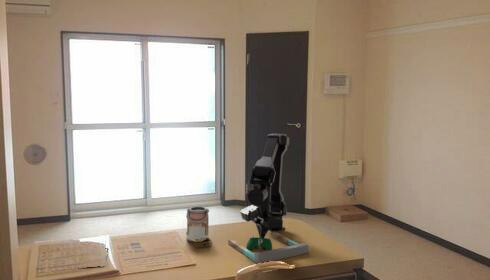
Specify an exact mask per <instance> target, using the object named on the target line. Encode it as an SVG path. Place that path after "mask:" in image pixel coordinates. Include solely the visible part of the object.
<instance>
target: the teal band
mask: <svg viewBox="0 0 490 280" xmlns="http://www.w3.org/2000/svg"><path fill="white" fill-rule="evenodd" d="M297 244H299V242H296V241H294V240H292V239H291V240H289V241H288V244H287V246H288V245H289V246H292V245H297ZM242 254H243V255H244V256H246V257H247V258H248V259H250V260H252V261H253V262H255V253H254V252H252V250H250V251H249V250H248V249H243V253H242Z"/></svg>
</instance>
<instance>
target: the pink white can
mask: <svg viewBox="0 0 490 280" xmlns="http://www.w3.org/2000/svg"><path fill="white" fill-rule="evenodd" d="M209 212H210V209H209V208H206V207H204V206H192V207H188V208H187V209H186V224H187V225H186V229H187V231H186V238H187V240H188V241H189V242H191V241H192V240H193V239H204V238H207V237H208V238H209Z"/></svg>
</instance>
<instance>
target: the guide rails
mask: <svg viewBox="0 0 490 280" xmlns="http://www.w3.org/2000/svg"><path fill="white" fill-rule="evenodd" d="M271 237H274V238H276V239H277V240H279V241H281V242H283V243H284V244H286V245H288V241H289V240H292V239H290V237H287V236H285V235H283V234H281V233H279V232H277V231H271ZM227 241H228V242H227V243H228V245H230V246H231V247H233V248H234V249H236V250H237V251H238V252H239V253H241V254H243V249H246V246H243V245H242V244H241V243H239V242H237V241H236V240H234V239H228V240H227Z"/></svg>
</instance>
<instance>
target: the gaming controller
mask: <svg viewBox="0 0 490 280" xmlns="http://www.w3.org/2000/svg"><path fill="white" fill-rule="evenodd" d="M245 248H246V249H248V250H249V251H252V250H253V248H254V249H257V248H259V249H260V248H261V249H266V251H268V250H273V243H272V240H271V238H270V237H269V236H268V235H266V236H265V237H264V238H260V237H255V236H254V235H251V236H250V238H249V239H248V241H247V243H246V246H245Z"/></svg>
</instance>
